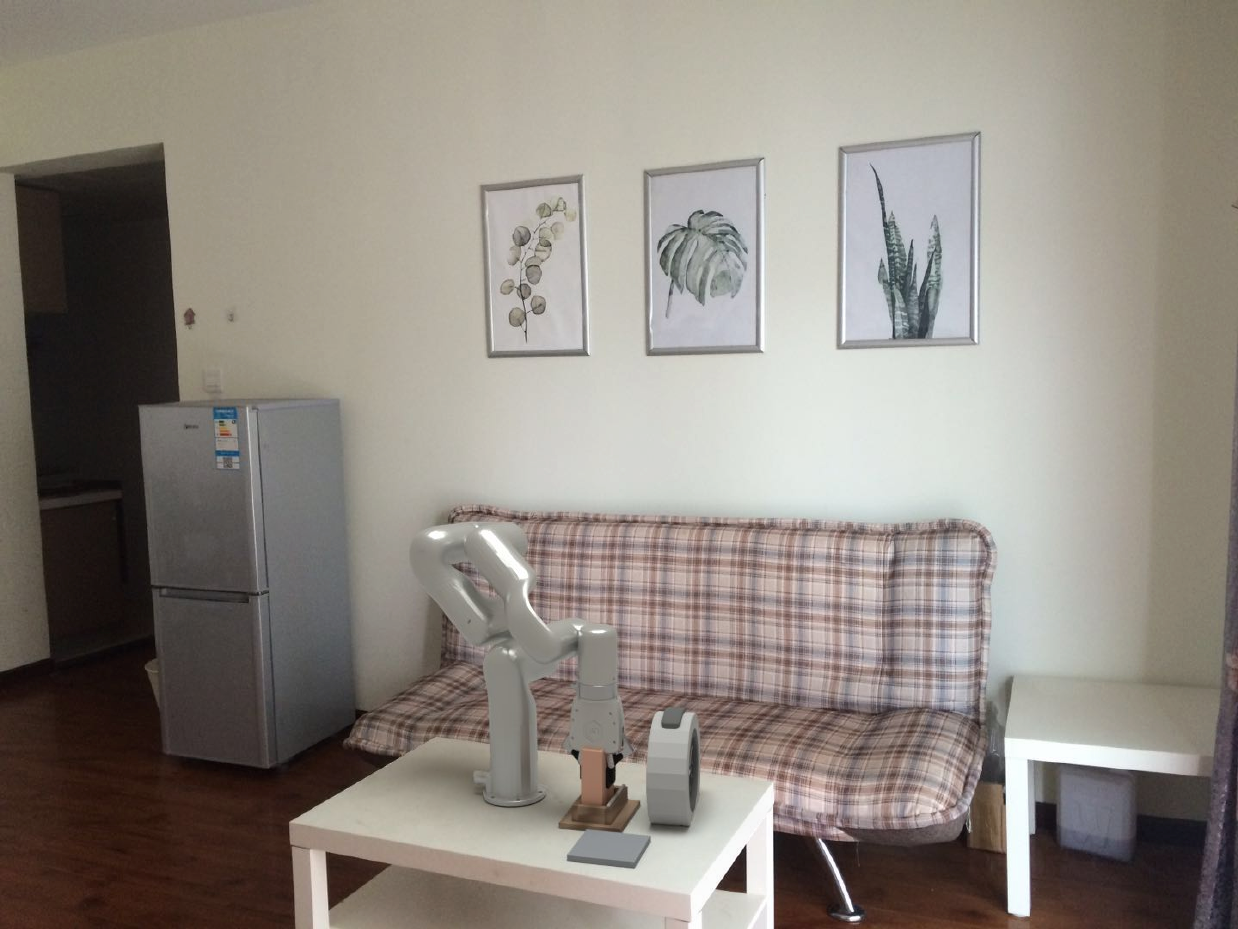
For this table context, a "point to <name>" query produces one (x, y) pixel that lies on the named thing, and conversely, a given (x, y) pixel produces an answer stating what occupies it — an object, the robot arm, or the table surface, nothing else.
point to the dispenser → (602, 813)
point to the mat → (609, 848)
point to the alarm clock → (673, 767)
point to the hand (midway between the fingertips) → (597, 783)
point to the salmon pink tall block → (594, 778)
